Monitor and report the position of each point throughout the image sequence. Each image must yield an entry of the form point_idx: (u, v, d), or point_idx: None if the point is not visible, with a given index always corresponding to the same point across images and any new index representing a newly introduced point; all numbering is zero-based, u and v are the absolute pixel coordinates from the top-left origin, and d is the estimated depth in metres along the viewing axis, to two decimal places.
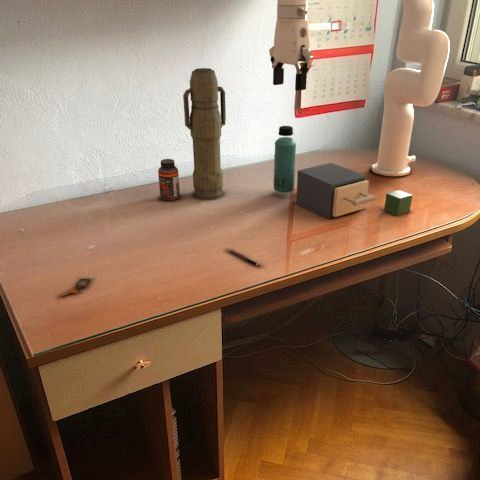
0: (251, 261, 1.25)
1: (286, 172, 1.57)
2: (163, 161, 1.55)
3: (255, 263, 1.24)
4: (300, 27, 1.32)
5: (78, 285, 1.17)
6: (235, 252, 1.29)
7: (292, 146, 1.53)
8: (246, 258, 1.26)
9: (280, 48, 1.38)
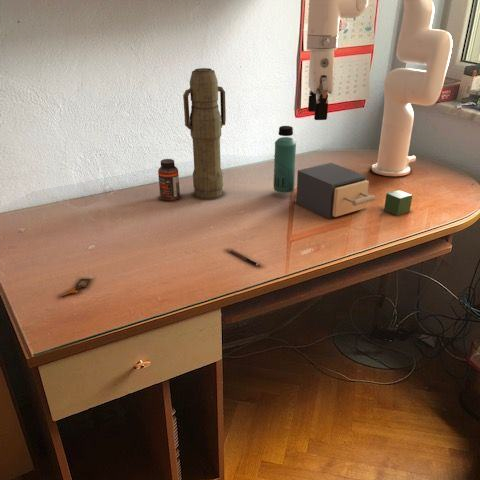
0: (251, 261, 1.25)
1: (286, 172, 1.57)
2: (163, 161, 1.55)
3: (255, 263, 1.24)
4: (321, 57, 1.30)
5: (78, 285, 1.17)
6: (235, 252, 1.29)
7: (292, 146, 1.53)
8: (246, 258, 1.26)
9: (309, 76, 1.37)
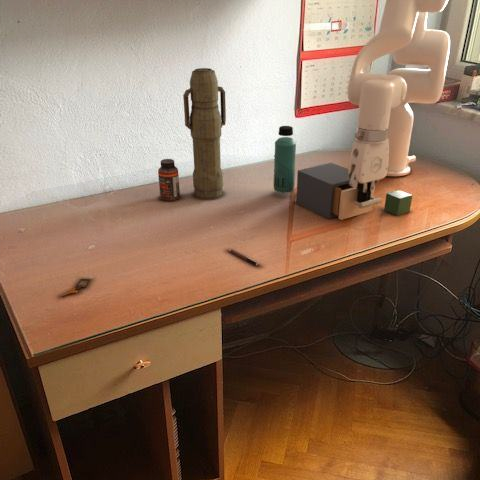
0: (251, 261, 1.25)
1: (286, 172, 1.57)
2: (163, 161, 1.55)
3: (255, 263, 1.24)
4: (354, 147, 1.33)
5: (78, 285, 1.17)
6: (235, 252, 1.29)
7: (292, 146, 1.53)
8: (246, 258, 1.26)
9: None
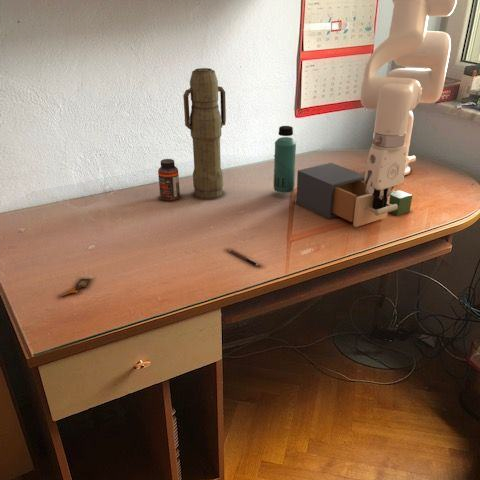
0: (251, 261, 1.25)
1: (286, 172, 1.57)
2: (163, 161, 1.55)
3: (255, 263, 1.24)
4: (371, 153, 1.29)
5: (78, 285, 1.17)
6: (235, 252, 1.29)
7: (292, 146, 1.53)
8: (246, 258, 1.26)
9: None
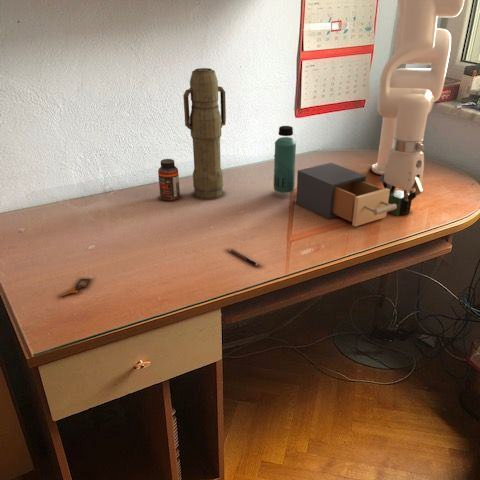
0: (251, 261, 1.25)
1: (286, 172, 1.57)
2: (163, 161, 1.55)
3: (254, 263, 1.24)
4: (417, 159, 1.39)
5: (78, 285, 1.17)
6: (235, 252, 1.29)
7: (292, 146, 1.53)
8: (246, 258, 1.26)
9: (393, 174, 1.45)
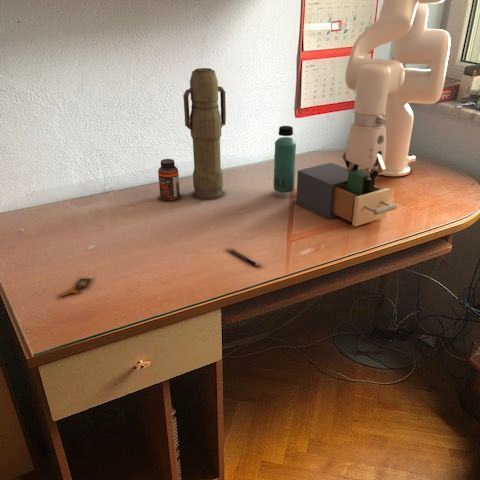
0: (250, 261, 1.25)
1: (286, 172, 1.57)
2: (163, 161, 1.55)
3: (254, 263, 1.24)
4: (378, 135, 1.31)
5: (78, 285, 1.17)
6: (235, 252, 1.29)
7: (292, 146, 1.53)
8: (246, 258, 1.26)
9: (354, 151, 1.37)
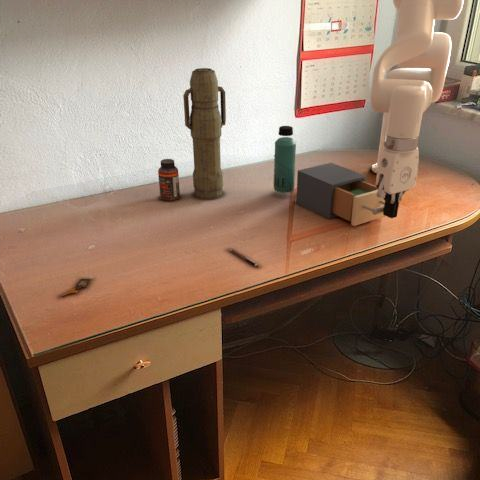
0: (250, 262, 1.25)
1: (286, 172, 1.57)
2: (163, 161, 1.55)
3: (254, 264, 1.24)
4: (383, 156, 1.26)
5: (78, 285, 1.17)
6: (236, 252, 1.29)
7: (292, 146, 1.53)
8: (245, 258, 1.26)
9: None
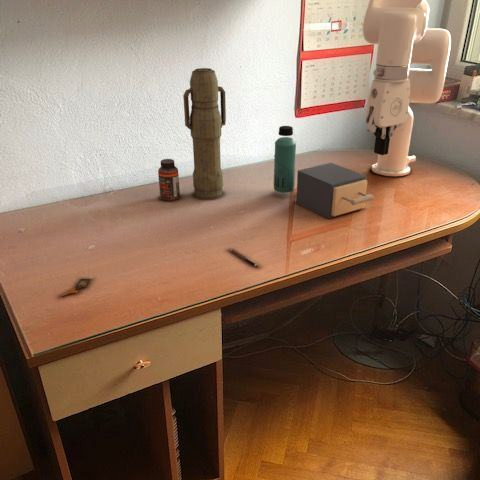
0: (250, 262, 1.25)
1: (286, 172, 1.57)
2: (163, 161, 1.55)
3: (253, 264, 1.24)
4: (373, 87, 1.23)
5: (78, 285, 1.17)
6: (236, 252, 1.29)
7: (292, 146, 1.53)
8: (245, 258, 1.26)
9: None
